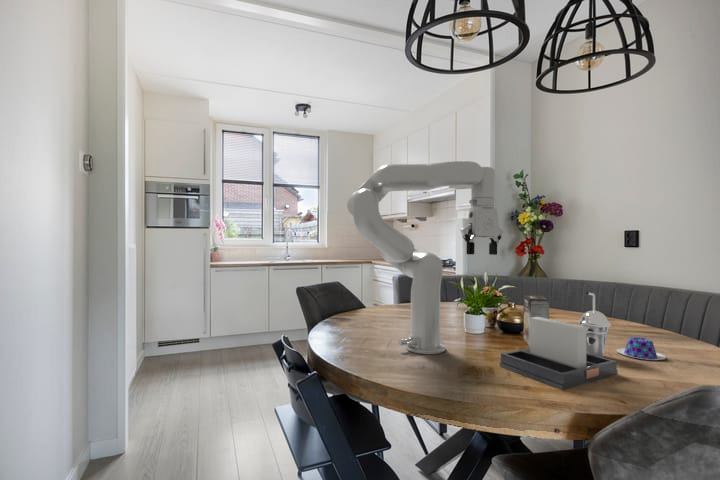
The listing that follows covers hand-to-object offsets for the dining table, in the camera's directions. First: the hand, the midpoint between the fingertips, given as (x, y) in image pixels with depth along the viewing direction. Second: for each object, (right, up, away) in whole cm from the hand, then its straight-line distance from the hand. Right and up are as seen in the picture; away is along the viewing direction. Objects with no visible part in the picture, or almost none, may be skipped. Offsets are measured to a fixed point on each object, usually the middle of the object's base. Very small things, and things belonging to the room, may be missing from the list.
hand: (481, 254), depth 123 cm
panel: (+12, -30, -24) cm, 40 cm away
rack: (+12, -31, -24) cm, 41 cm away
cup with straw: (+31, -31, -11) cm, 45 cm away
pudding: (+46, -31, -11) cm, 56 cm away
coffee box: (+19, -31, +2) cm, 37 cm away
